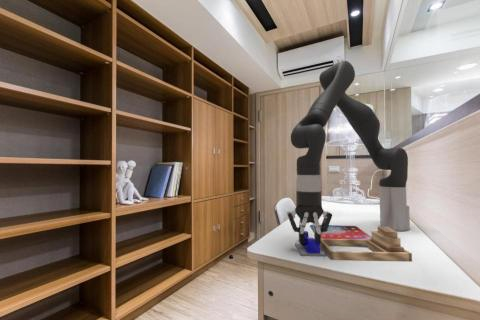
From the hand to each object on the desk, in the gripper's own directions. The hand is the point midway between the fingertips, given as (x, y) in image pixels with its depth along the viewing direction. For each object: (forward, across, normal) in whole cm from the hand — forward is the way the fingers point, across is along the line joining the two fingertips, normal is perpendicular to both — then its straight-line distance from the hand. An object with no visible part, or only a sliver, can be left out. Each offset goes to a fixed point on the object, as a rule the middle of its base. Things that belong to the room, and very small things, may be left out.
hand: (309, 245), depth 68 cm
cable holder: (+1, 0, 0) cm, 1 cm away
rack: (+2, -15, +1) cm, 15 cm away
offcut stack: (+2, -22, +1) cm, 22 cm away
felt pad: (+1, 0, 0) cm, 2 cm away
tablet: (+2, -16, -16) cm, 23 cm away
